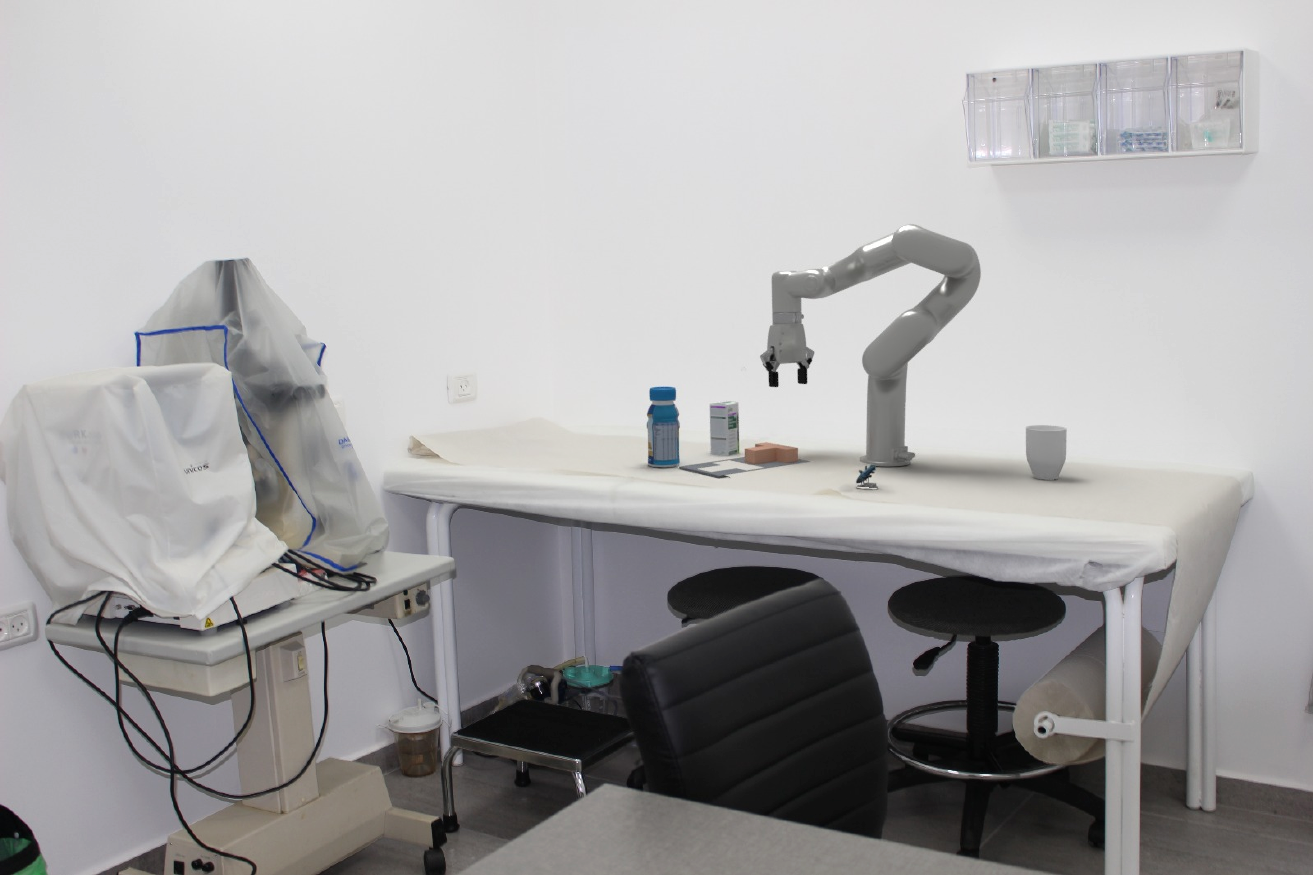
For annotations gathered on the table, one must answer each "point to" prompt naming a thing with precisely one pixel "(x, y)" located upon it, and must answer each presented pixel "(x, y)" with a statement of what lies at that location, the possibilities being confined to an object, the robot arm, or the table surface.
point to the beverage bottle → (663, 428)
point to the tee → (771, 453)
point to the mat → (732, 471)
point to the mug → (1046, 450)
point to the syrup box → (724, 428)
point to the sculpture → (866, 477)
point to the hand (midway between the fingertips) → (788, 385)
